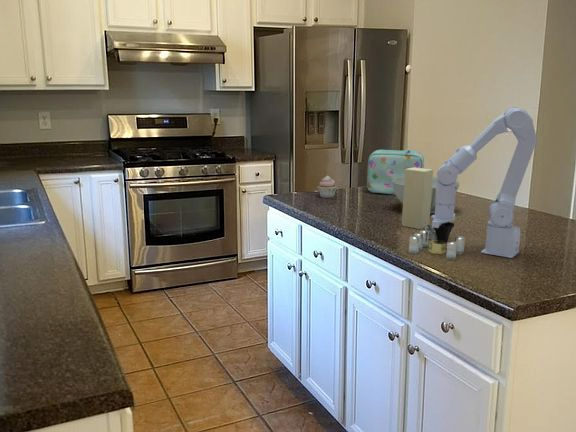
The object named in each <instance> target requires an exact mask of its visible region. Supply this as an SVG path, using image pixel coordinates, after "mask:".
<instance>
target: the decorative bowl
mask: <svg viewBox="0 0 576 432" xmlns="http://www.w3.org/2000/svg"><path fill="white" fill-rule="evenodd" d="M404 179H405V177H400V178H395V179H393V180H392V187H393V190H394V192H395V194H396V195H395V196H396V197H397V199H398V201H399V202H401V204H402V205H403V195H404ZM437 182H438V178H437V176H436V177H435V176H433V181H432V194H431V208H430V215H433V214H435V203H436V189H437V187H438V186H437ZM459 187H460V182H459V181H457V180H456V181H455V195H457V192H458V189H459Z"/></svg>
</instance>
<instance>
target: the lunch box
mask: <svg viewBox="0 0 576 432" xmlns="http://www.w3.org/2000/svg"><path fill="white" fill-rule="evenodd" d="M367 160H368V161H367V176H366V177H367V178H366V186H367V190H368V191H369V192H370V193H372V194H383V195H393V196H396V194H395V192H394V190H393V187H392V180H393V179H395V178H400V177H405V169H408V168H414V167H416V168H424V169H426V168H425V166H424V165H425V157H424V154H423V153H421V152H420V151H418V150H412V149H411V148H409V149H406V150H405V149H404V150H395V149H377V150H374V151H373V152H372V153H371V154H370V155H369V157H368V159H367Z"/></svg>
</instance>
